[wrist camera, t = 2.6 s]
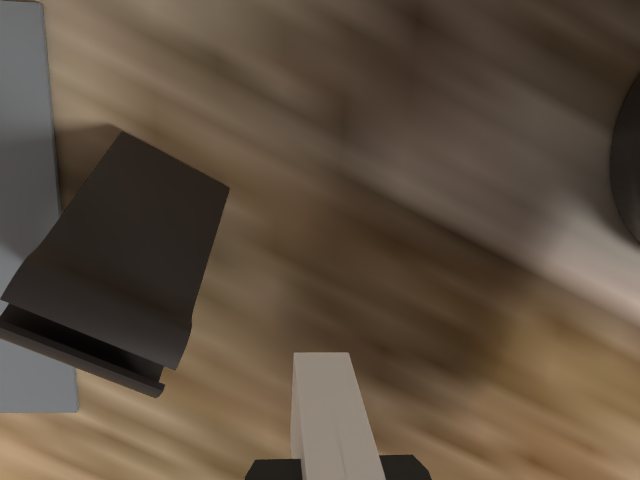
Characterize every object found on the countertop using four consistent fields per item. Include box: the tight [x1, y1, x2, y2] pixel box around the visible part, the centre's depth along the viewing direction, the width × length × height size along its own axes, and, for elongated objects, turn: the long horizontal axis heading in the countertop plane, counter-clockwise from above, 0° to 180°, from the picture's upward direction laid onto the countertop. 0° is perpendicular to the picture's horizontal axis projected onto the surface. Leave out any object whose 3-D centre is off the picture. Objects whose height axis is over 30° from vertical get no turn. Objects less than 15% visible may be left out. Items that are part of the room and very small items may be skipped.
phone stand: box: [0, 131, 230, 398], centre depth 24 cm, size 9×6×12 cm, turn 149°
